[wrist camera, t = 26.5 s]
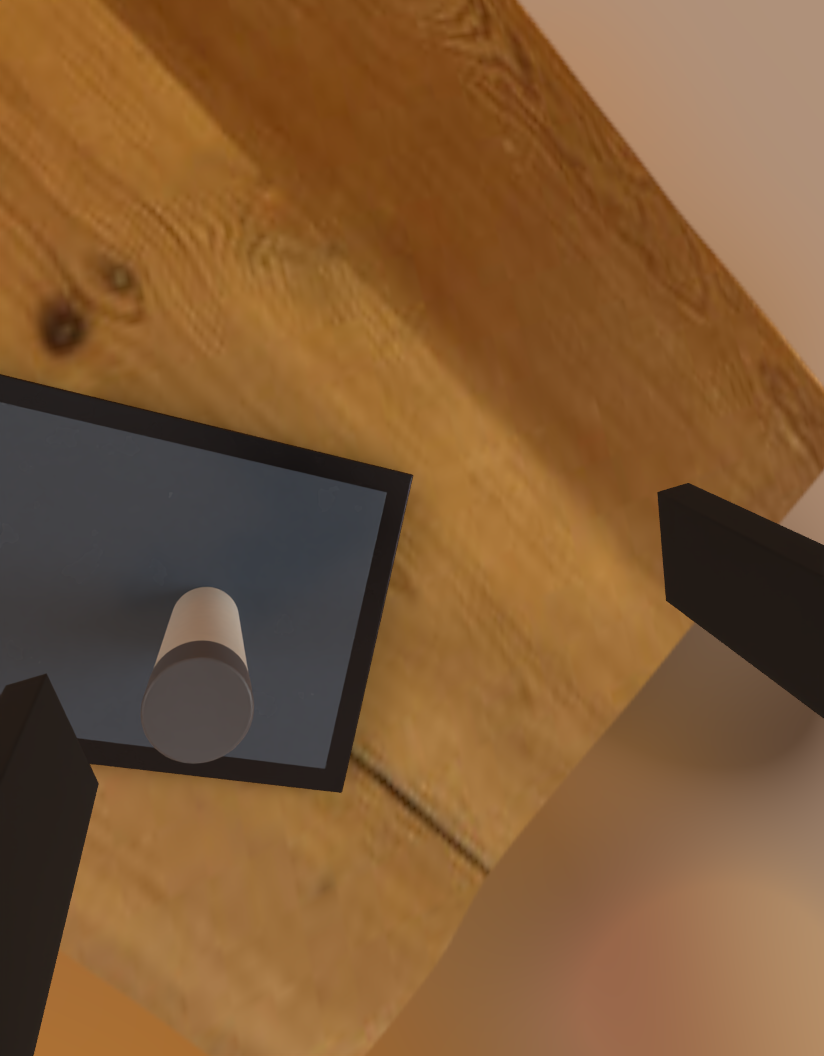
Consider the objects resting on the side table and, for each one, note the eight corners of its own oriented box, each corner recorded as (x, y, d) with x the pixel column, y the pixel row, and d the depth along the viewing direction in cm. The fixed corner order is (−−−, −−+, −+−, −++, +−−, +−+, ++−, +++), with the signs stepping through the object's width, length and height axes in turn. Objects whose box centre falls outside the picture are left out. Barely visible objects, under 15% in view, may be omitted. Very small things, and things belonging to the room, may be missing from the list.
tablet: (406, 475, 32) (414, 474, 31) (337, 782, 32) (342, 794, 31) (-44, 365, 27) (-56, 360, 26) (-123, 727, 27) (-140, 739, 26)
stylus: (246, 593, 29) (265, 667, 18) (231, 656, 29) (240, 771, 18) (179, 580, 29) (154, 648, 17) (164, 644, 29) (129, 757, 17)
